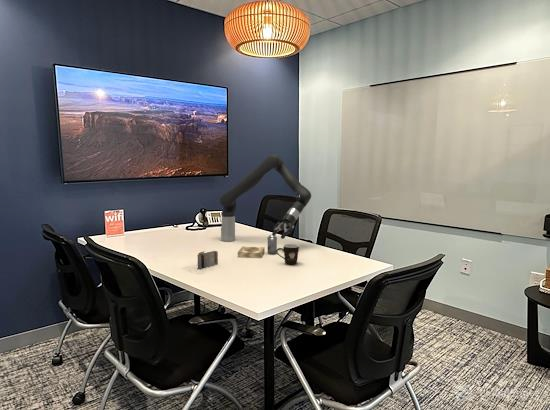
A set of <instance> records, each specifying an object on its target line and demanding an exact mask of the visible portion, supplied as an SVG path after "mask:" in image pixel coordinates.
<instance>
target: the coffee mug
mask: <svg viewBox="0 0 550 410" xmlns="http://www.w3.org/2000/svg"><path fill="white" fill-rule="evenodd" d="M282 246H283V248H282V247H279V248H277V254H276V255H278V257H280V258H283V260H284V264H285V265H287V266H296V265H297V264H298V258H299V249H300V245H299V244H295V243H286V244H283V245H282ZM280 250H282V252H283V255H284V256H283V255H280V253H278V251H280Z"/></svg>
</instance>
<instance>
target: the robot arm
mask: <svg viewBox="0 0 550 410" xmlns="http://www.w3.org/2000/svg"><path fill="white" fill-rule="evenodd" d="M271 170H275V171H276V172H278V174H280V176H281V177H282V178H283V180H284V182H285V184H286V185H287V186H288V187H289V189H290V190H291V191H292V192H293V193H295V194H298V195H299V197H298V198H297V200H296V201H295V202H294V203H293V204H292V206H291V207H290V208H289V209H288V210H287V212H286V213H285V215H284V216H283V217H282V221H281V222H280V221H277V222H276V223H275V225H274V226H273V228H272V229H273V232H272V233H271V235H275V236H276V235H277V233H278V232H279V231H284V232H282V234H281V235H280V239H282V240H284V239H285V238H286V236H288V235H291V234H292V232H293V230H294V229H295V225H294V224H295V223H296V221H297V220H298V219H299V216H300V215H301V214H302V212H303V210H304V209H305V208H306V206H307V205H308V203H309V202H310V200H311V198H312V194H311V191H310V190H309V189H308V188H306V186H304V185H303V184H301V182H300V181H299V180H298V178H297V177H295V176H294V175H293V173H292V172H291V171H290V169H288V167H287V165H286V164H285V162H284V160H283V158H282V157H281V156H280V155H277V154H275V153H274V154H269V155H268V156H267V157H265V159H264V160H263V161H262V162H261V163H260V164H259V165H258V166H257V167H255V168H254V169H253V170H252V171H250V172H249V173H248V174H246V175H245V176H244V177H243V178H242V179H241V180H240V181H239V182H238V183H236V184H235V185H234V186H233V187H232V188H230V190H228V191H226V192H224V193H223V194H222V195H221V196H220V198H219V203H220V205H221V206H222V207H223V209H222V211H221V227H220V241H221V242H226V243H227V242H235V240H236V213H237V212H236V211H237V200H238V198H240V197H241V196H243V195H244V194H246V193H248V192H249V191H250V190H252V189H254V188H255V187H256V186H257V185H258V184H259V183H260V182H261V180H262V179H263V177H264V176H265V175H266V174H268V173H269V172H270V171H271Z"/></svg>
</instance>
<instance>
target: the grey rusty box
mask: <svg viewBox="0 0 550 410" xmlns="http://www.w3.org/2000/svg"><path fill="white" fill-rule="evenodd" d="M218 257H219V253H218V251H217V250H211V251H208V252H205V250H204V251H200V252H198V253H197V269H199V270H202V268H203V269H206V268H210V267H214V266H218V265H219V258H218Z"/></svg>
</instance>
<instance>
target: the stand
mask: <svg viewBox="0 0 550 410" xmlns="http://www.w3.org/2000/svg"><path fill="white" fill-rule="evenodd" d="M264 254H265V247H264V246H241V247H240V249H239V250H237V258H247V259H248V258H251V259H262V258H263V257H264Z"/></svg>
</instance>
